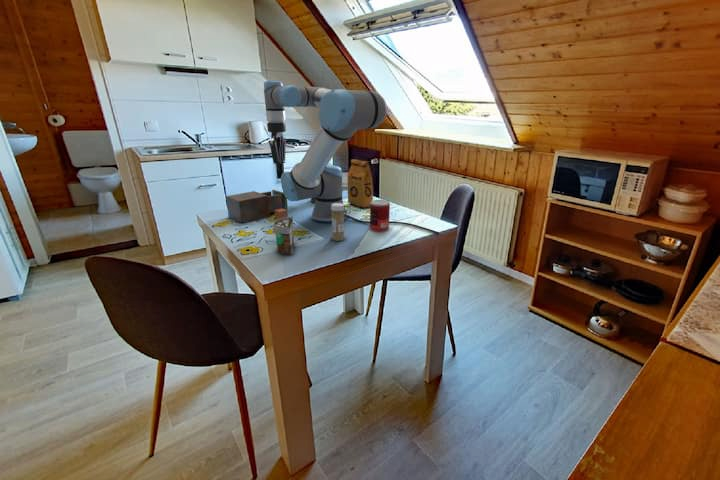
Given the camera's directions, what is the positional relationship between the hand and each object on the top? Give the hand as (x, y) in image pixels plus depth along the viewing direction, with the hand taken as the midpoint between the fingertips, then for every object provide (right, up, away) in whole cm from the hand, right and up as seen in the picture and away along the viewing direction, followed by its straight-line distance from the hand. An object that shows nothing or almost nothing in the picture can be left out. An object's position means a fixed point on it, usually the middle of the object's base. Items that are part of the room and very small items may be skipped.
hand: (280, 178), depth 152 cm
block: (+1, -18, -1) cm, 18 cm away
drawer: (-5, -12, +11) cm, 17 cm away
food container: (+9, -31, -32) cm, 45 cm away
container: (+14, -7, +28) cm, 32 cm away
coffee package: (+35, -10, +21) cm, 42 cm away
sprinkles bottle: (+27, -27, -23) cm, 44 cm away
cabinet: (-14, -17, +2) cm, 22 cm away
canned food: (+43, -22, -11) cm, 50 cm away
